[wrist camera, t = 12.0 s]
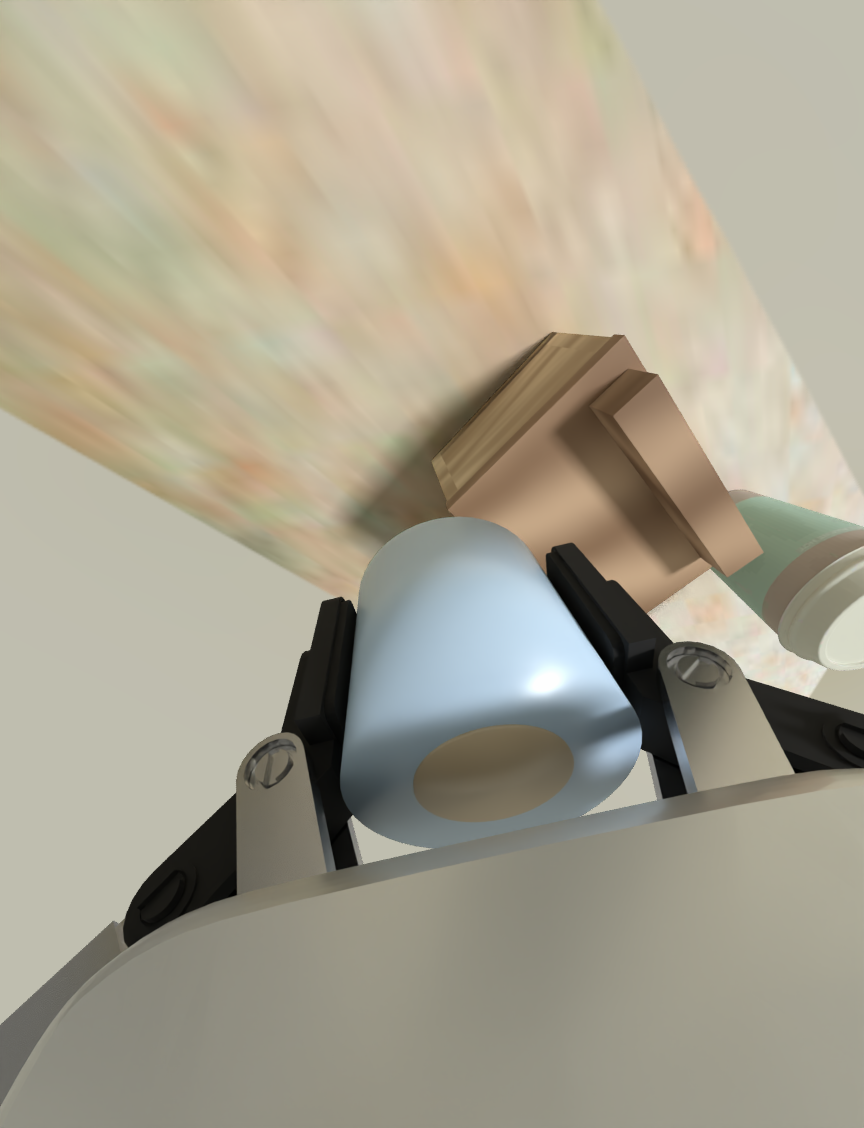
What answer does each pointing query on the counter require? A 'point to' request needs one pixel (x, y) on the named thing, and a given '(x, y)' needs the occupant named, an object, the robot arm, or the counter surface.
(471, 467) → the crate
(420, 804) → the pale blue rounded block
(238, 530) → the counter surface
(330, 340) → the counter surface
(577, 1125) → the robot arm
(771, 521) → the coffee cup
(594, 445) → the lid
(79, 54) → the counter surface
